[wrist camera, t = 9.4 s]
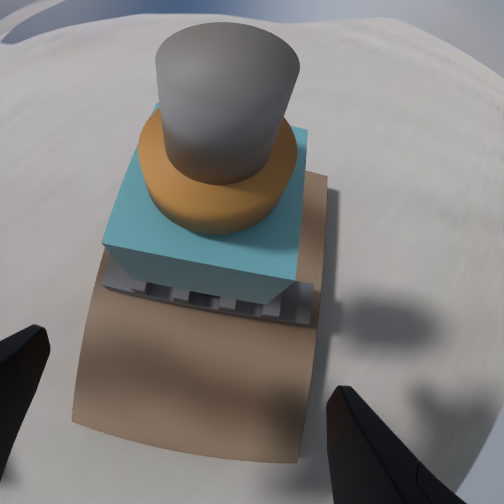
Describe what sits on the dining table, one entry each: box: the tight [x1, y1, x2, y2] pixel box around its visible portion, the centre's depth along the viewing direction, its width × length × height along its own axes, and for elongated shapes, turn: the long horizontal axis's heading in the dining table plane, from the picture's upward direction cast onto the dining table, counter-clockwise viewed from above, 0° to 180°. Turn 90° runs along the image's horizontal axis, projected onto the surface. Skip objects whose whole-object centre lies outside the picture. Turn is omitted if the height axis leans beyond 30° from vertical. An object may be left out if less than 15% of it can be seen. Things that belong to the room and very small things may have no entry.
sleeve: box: [102, 103, 308, 305], centre depth 8 cm, size 4×4×3 cm
